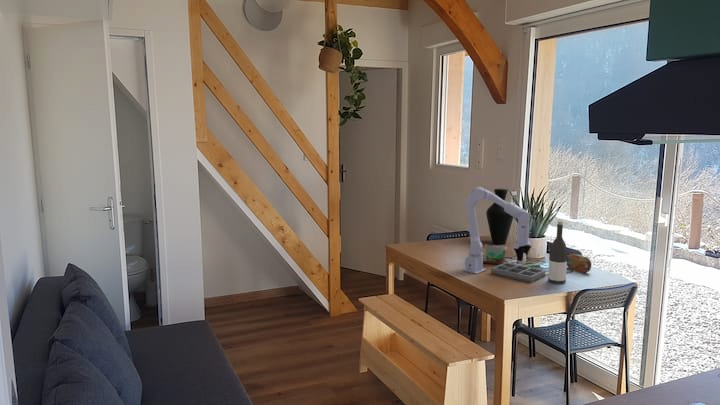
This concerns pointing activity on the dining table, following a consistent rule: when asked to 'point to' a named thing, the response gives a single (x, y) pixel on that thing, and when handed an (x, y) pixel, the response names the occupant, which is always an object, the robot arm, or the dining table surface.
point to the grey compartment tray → (518, 272)
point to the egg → (523, 260)
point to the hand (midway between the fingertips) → (521, 259)
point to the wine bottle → (558, 258)
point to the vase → (499, 220)
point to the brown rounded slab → (578, 263)
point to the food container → (495, 254)
